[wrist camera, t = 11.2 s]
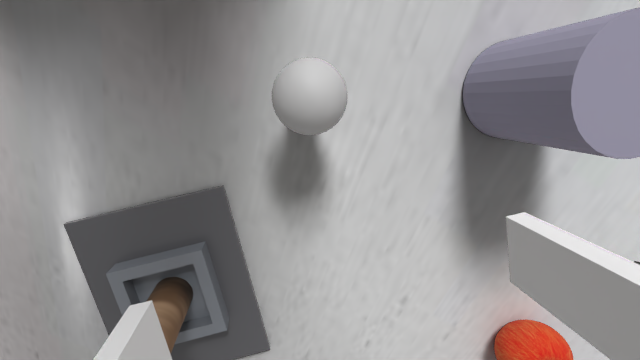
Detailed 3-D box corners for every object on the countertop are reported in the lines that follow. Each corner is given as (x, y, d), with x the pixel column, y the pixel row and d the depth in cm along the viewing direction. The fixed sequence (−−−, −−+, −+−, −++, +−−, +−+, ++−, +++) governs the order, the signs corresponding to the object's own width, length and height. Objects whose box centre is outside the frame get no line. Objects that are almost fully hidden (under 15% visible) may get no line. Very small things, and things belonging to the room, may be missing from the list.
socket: (66, 222, 37) (50, 232, 34) (223, 185, 38) (219, 192, 36) (132, 383, 42) (122, 404, 39) (269, 346, 43) (269, 363, 40)
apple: (552, 335, 48) (606, 380, 40) (504, 373, 49) (548, 426, 41) (521, 295, 46) (571, 335, 38) (471, 336, 47) (511, 383, 39)
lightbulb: (304, 139, 38) (317, 155, 28) (259, 99, 37) (254, 100, 26) (343, 95, 38) (371, 94, 27) (299, 52, 37) (310, 34, 26)
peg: (148, 282, 38) (107, 344, 29) (186, 272, 39) (158, 330, 29) (161, 315, 39) (125, 385, 30) (198, 305, 40) (174, 371, 30)
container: (443, 80, 39) (545, 70, 25) (522, 19, 39) (672, -28, 24) (490, 156, 42) (608, 187, 27) (564, 99, 41) (724, 100, 27)
